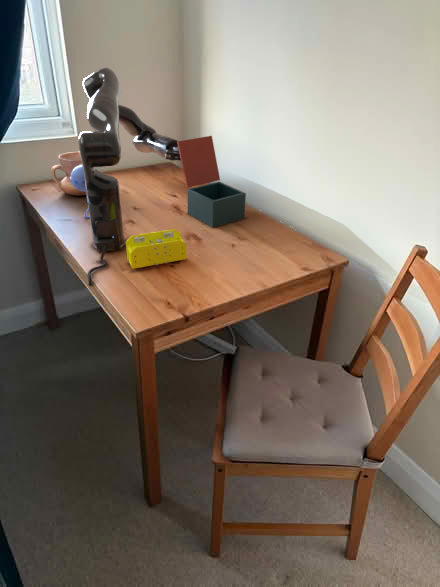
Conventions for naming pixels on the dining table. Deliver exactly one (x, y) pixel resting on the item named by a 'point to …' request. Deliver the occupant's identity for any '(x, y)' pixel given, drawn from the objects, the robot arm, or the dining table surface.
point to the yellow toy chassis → (155, 248)
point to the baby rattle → (79, 181)
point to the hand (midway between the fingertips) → (194, 158)
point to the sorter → (216, 203)
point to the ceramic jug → (68, 172)
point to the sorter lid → (198, 161)
